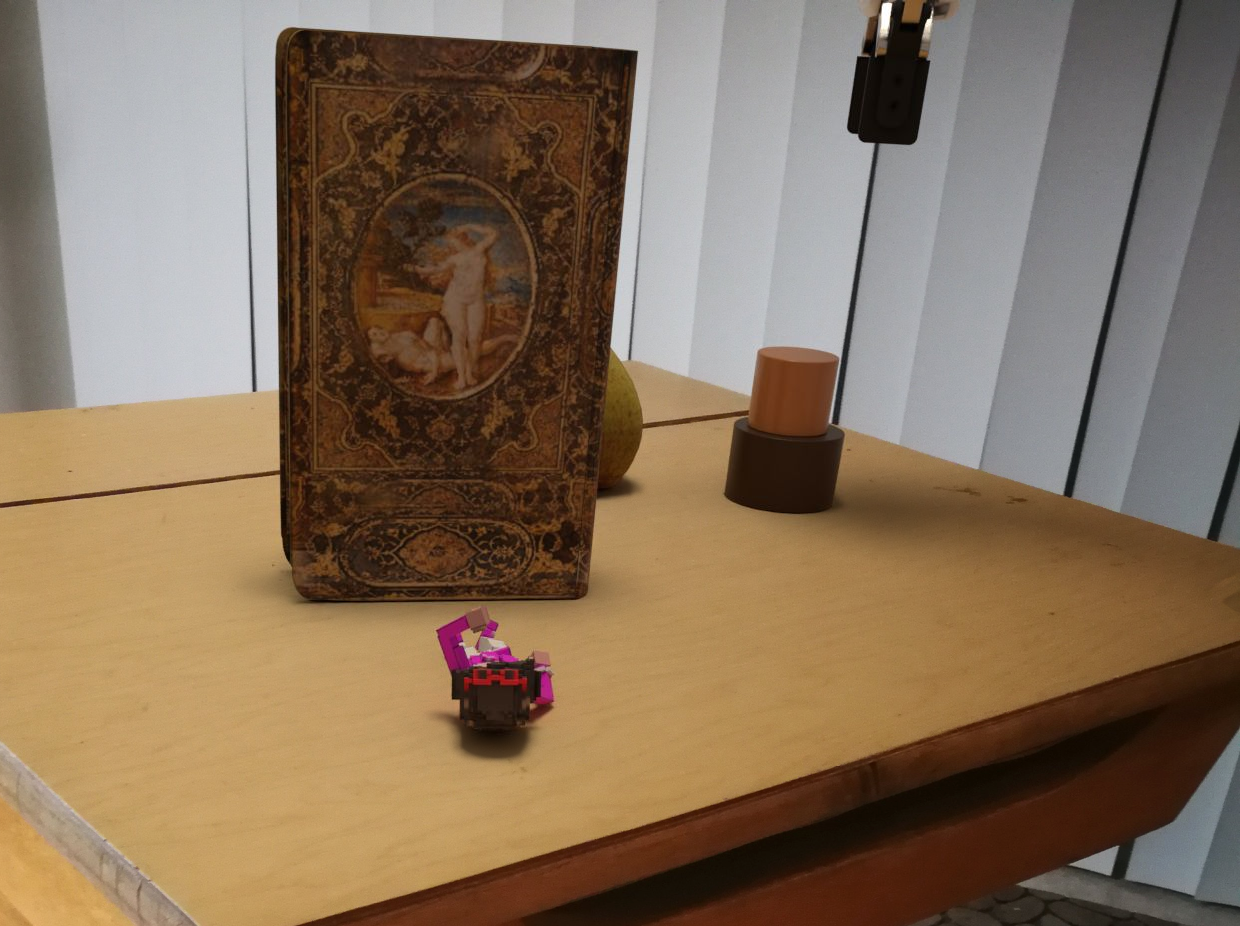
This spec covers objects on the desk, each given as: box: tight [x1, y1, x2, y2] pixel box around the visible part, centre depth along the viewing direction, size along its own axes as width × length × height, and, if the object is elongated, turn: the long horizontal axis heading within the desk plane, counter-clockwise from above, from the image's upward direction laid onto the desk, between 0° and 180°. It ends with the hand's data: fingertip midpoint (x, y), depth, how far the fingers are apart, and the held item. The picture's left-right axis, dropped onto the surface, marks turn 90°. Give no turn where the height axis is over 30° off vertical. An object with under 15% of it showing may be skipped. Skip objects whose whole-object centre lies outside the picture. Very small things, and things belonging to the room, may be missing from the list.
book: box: [274, 26, 639, 602], centre depth 76 cm, size 16×6×25 cm, turn 102°
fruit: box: [597, 348, 644, 490], centre depth 99 cm, size 9×9×12 cm
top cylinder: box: [747, 346, 840, 437], centre depth 98 cm, size 5×5×4 cm
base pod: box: [724, 416, 846, 514], centre depth 101 cm, size 7×7×4 cm
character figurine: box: [435, 604, 555, 732], centre depth 67 cm, size 6×5×12 cm
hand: (879, 138), depth 88 cm, fingers open, 9 cm apart
